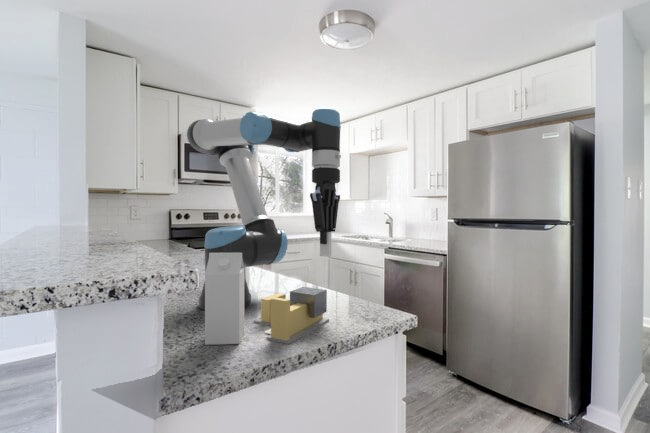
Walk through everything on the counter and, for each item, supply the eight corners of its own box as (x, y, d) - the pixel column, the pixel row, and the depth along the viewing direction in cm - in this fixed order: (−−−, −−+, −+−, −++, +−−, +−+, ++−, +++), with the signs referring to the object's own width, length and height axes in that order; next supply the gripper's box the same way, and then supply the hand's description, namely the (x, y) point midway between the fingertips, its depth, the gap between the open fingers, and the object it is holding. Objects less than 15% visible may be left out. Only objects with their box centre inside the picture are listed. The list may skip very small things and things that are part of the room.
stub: (253, 322, 86) (253, 298, 86) (274, 313, 94) (275, 291, 94) (272, 326, 83) (272, 302, 83) (293, 316, 91) (293, 294, 91)
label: (263, 332, 79) (263, 331, 79) (279, 325, 84) (279, 324, 84) (274, 335, 78) (274, 334, 78) (289, 327, 83) (289, 326, 83)
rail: (266, 339, 75) (266, 298, 75) (309, 317, 91) (309, 283, 91) (289, 344, 72) (289, 302, 72) (329, 320, 88) (329, 286, 88)
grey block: (289, 313, 84) (289, 291, 84) (302, 307, 89) (303, 286, 89) (314, 318, 81) (314, 295, 80) (326, 311, 86) (326, 289, 86)
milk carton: (212, 333, 79) (213, 250, 78) (244, 332, 79) (244, 250, 79) (204, 345, 71) (204, 254, 71) (239, 344, 72) (239, 254, 72)
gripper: (326, 164, 84) (326, 260, 85) (348, 170, 96) (348, 254, 96) (301, 166, 88) (300, 257, 88) (325, 171, 99) (325, 252, 100)
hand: (325, 255), depth 92 cm, fingers closed
